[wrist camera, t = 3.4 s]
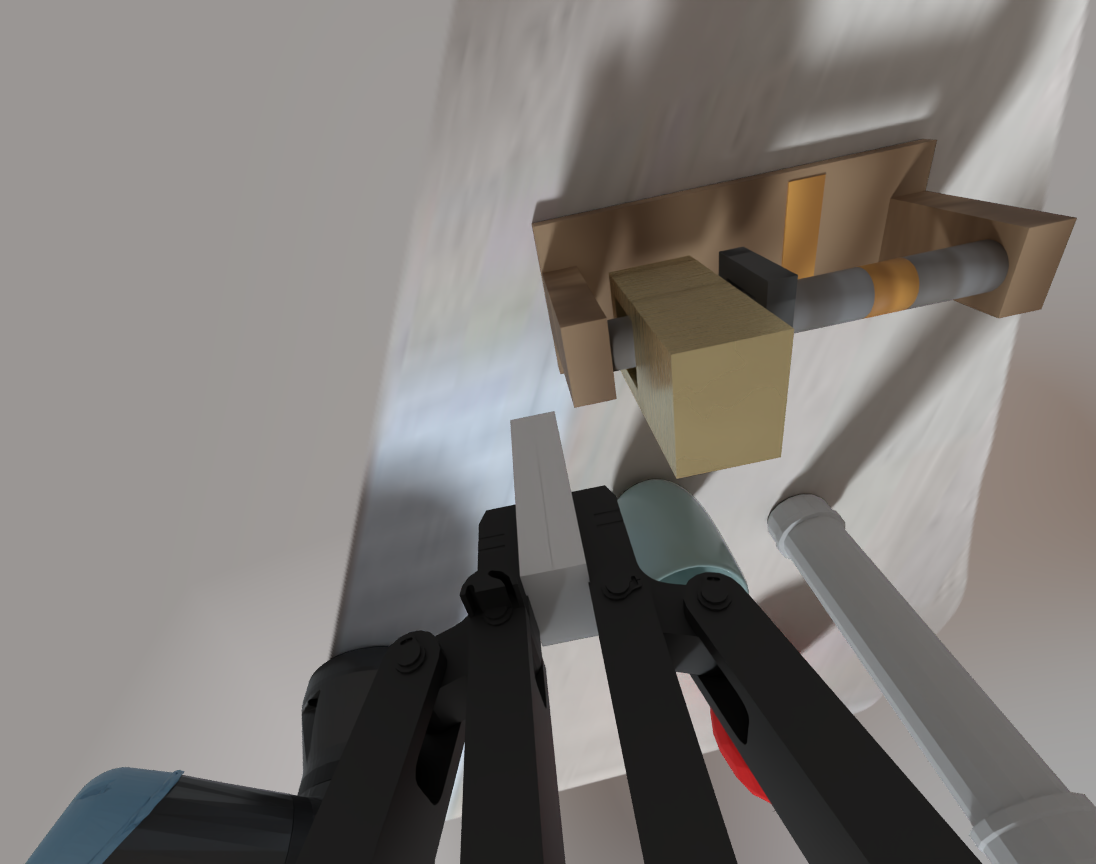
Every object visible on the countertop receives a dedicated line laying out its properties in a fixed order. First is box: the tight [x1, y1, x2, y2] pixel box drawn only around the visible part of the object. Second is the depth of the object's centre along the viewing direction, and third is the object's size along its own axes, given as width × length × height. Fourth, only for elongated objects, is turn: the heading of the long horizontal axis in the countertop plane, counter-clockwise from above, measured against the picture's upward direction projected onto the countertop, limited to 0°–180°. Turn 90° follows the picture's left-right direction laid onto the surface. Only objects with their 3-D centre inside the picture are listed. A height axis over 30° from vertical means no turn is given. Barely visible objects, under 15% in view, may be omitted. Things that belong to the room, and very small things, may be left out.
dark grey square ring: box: [719, 247, 798, 328], centre depth 23 cm, size 1×5×5 cm, turn 10°
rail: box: [532, 139, 1077, 408], centre depth 26 cm, size 22×9×10 cm, turn 100°
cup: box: [617, 479, 749, 594], centre depth 36 cm, size 8×8×10 cm
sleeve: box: [609, 255, 794, 479], centre depth 21 cm, size 4×5×10 cm
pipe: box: [767, 494, 1096, 864], centre depth 30 cm, size 6×6×30 cm
